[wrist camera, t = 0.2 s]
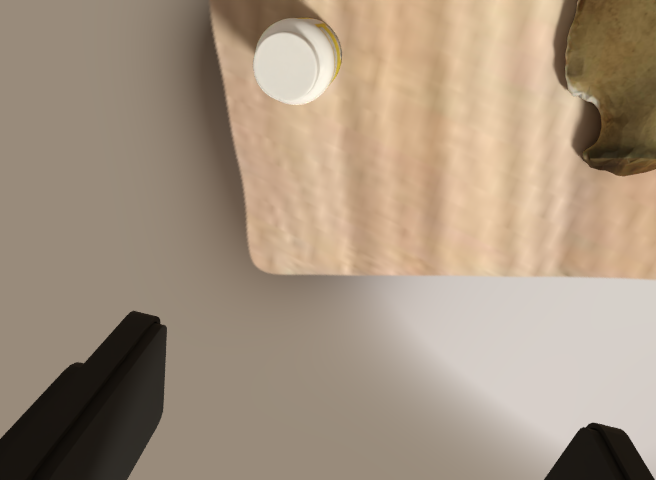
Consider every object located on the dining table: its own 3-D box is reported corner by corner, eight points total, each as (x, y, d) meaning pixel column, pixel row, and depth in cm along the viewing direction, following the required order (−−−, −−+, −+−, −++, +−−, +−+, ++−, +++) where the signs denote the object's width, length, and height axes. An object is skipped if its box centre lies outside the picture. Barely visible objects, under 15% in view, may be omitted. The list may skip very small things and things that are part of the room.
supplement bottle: (267, 74, 36) (229, 90, 27) (290, 5, 33) (256, -1, 24) (327, 102, 36) (308, 126, 27) (354, 36, 34) (343, 41, 25)
